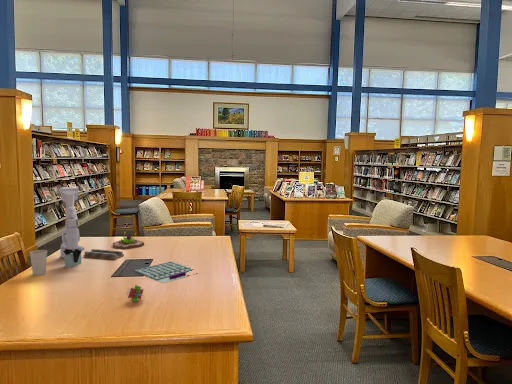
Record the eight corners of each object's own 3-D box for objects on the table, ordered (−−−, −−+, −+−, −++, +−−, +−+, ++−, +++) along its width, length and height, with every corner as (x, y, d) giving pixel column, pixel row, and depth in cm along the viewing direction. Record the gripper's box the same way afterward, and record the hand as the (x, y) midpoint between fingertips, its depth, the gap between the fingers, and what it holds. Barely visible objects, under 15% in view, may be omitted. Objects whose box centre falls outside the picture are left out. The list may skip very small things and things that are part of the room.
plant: (107, 246, 257) (106, 231, 256) (130, 241, 273) (130, 227, 272) (124, 251, 246) (124, 234, 245) (147, 245, 262) (147, 230, 261)
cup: (28, 273, 195) (27, 251, 194) (45, 270, 201) (44, 249, 200) (33, 277, 190) (32, 254, 188) (50, 273, 195) (49, 251, 194)
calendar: (175, 262, 222) (175, 258, 221) (204, 272, 203) (204, 268, 203) (134, 272, 202) (134, 268, 202) (163, 284, 183) (163, 279, 183)
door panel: (69, 268, 206) (68, 255, 205) (64, 267, 207) (64, 255, 206) (81, 263, 216) (81, 251, 215) (77, 262, 216) (76, 251, 216)
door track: (83, 257, 228) (83, 252, 228) (94, 253, 238) (93, 248, 237) (114, 260, 223) (114, 254, 223) (123, 255, 233) (123, 251, 232)
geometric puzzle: (141, 290, 166) (132, 279, 162) (150, 294, 162) (141, 283, 158) (130, 303, 162) (120, 292, 158) (139, 307, 158) (129, 296, 154)
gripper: (56, 239, 208) (57, 262, 209) (78, 241, 204) (78, 264, 205) (65, 237, 214) (66, 259, 216) (86, 238, 211) (87, 261, 212)
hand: (73, 261), depth 211 cm, fingers open, 4 cm apart
